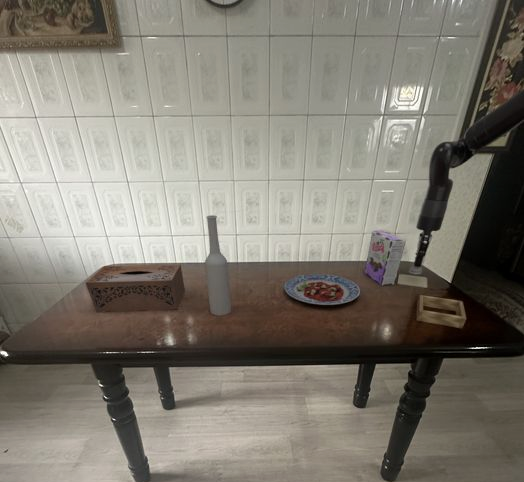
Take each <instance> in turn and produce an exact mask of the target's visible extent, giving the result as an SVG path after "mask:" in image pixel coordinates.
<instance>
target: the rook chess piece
mask: <svg viewBox="0 0 524 482" xmlns="http://www.w3.org/2000/svg"><path fill="white" fill-rule="evenodd" d="M417 252H418V251H417V250H416V252H415V257H414V261H413V264H412V265H411V266H410V267H409V270H408V273H409V274H410V275H413V276H419V275H421V274H422V272H423V268H422V267H423V265H421V267H415V266H414V264H415V260H416V257H417V255H416V254H417ZM420 252H421V253H424V251H423V252H422V251H420Z"/></svg>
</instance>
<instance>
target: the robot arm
mask: <svg viewBox="0 0 524 482" xmlns="http://www.w3.org/2000/svg"><path fill="white" fill-rule="evenodd" d="M522 123H524V88H522V89H521V90H520V91H518V92H517V93H516V94H514V95H513V96H511V97H510V98H509V99H507V100H505V101H504V102H503V103H501V104H500V105H498V106H497V107H496V108H494V109H492V110H491V111H490V112H488V113H487V114H486V115H484V116H482V117H481V118H480V119H478V120H477V121H475V122H474V123H472V124H471V126H469V127H468V128H467V129H466V131H465V133H464V136H462V137H461V138H459V139H457V140H455V141H454V140H453V141H443V142H441V143H438V145H436V146H435V148H434V149H433V150H432V153H431V155H430V157H429V163H428V176H427V177H428V179H427V180H428V183H427V184H428V185H427V188H426V193H425V195H424V199H423V202H422V204H421V207H420V211H419V215H418V218H417V222H416V225H415V227H416V229H417V230H419V231H422V232H420V233H419V235H418V242H417V245H416V248H417V249H416V252H417V251H418V252H417V254H415V257H416V255H417V257H416V260H415V259H414V261H415V264H414V266H415V267H421V266H422V263H423V260H424V257H426V255H427V252H428V250H429V247H430V243H431V242H432V239H433V234H432V232H438V231H440V230H441V228H442V225H443V221H444V218H445V215H446V212H447V210H448V209H447V208H448V203H449V199H450V196H451V193H452V190H453V186H454V181H453V179H451V178H450V169H451V170H453V169H456V168H458V167H460V166H462V165H464V164H465V163H467V162H468V161H470V159H471V158H473V157H474V156H475V155H477V154H478V152H480V151H481V150H483V149H485V148H486V147H488V146H490V145H492V144H493V143H494V142H497V141H498V140H499V139H502V138H503V137H504V136H506V135H507V134H509V133H510V132H511V131H513V130H515V129H516V128H517V127H518V126H519V125H521V124H522ZM420 251H422V252H423V251H424V253H421V252H420Z"/></svg>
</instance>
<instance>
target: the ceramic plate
mask: <svg viewBox="0 0 524 482" xmlns="http://www.w3.org/2000/svg"><path fill="white" fill-rule="evenodd" d="M284 291H285V292H286V293H287V295H288V296H290V297H291V298H293V299H295V300H297V301H300V302H303V303H307V304H313V305H319V306H335V305H342V304H346V303H350V302H352V301H354V300H356V299H357V298H359V296H360V294H361V288H360V286H359V285H358V284H356V283H355V282H354V281H352V280H351V279H348V278H345V277H341V276H339V275H338V276H337V275H333V274H325V273H312V274H303V275H299V276H295V277H292V278H291V279H289V280H287V281H286V283H285V284H284Z"/></svg>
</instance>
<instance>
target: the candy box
mask: <svg viewBox="0 0 524 482" xmlns="http://www.w3.org/2000/svg"><path fill="white" fill-rule="evenodd" d="M406 242H407V239H406V238H403V237H400V236H398V235H397V234H394V233H393V232H390V231H388V229H379V230H378V229H377V230H372V231H371V237H370V241H369V247H368V252H367V258H366V263H365V268H364V271H363V272H364V274H365V275H367V276H368V277H369V278H371V280H372V281H374V282H376V284H378V285H379V286H392V285H395V283H396V279H397V276H398V275H397V274H398V271H399V268H400V265H401V262H402V258H403V257H402V256H403V254H404V250H405V246H406Z"/></svg>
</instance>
